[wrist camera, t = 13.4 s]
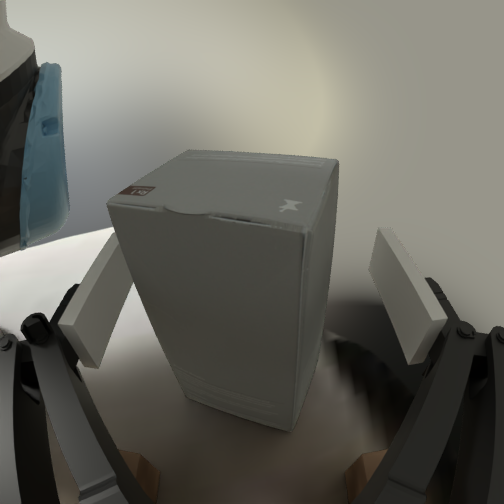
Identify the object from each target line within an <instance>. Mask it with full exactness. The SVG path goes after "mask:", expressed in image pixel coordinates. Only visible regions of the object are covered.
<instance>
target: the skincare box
mask: <svg viewBox="0 0 504 504" xmlns="http://www.w3.org/2000/svg"><path fill="white" fill-rule="evenodd" d="M338 179H339V161H338V160H337V159H327V158H317V157H307V156H295V155H281V154H265V153H249V152H233V151H209V150H208V151H207V150H187V151H185V152H183V153H181V154H180V155H178V156H177V157H175V158H173V159H171V160H170V161H168V162H167V163H165V164H163V165H162V166H160V167H159V168H157V169H155V170H154V171H152V172H150V173H149V174H147V175H146V176H144V177H142V178H141V179H140V180H138V181H136V182H135V183H134V184H132V185H130V186H129V187H127V188H126V189H124V190H123V191H121V192H120V193H118V194H117V195H115V196H114V197H112V198H111V199H109V200H108V202H107V203H106V204H107V208H108V211H109V214H110V218H111V221H112V224H113V227H114V230H115V233H116V236H117V239H118V241H119V244H120V247H121V250H122V253H123V255H124V258H125V261H126V263H127V266H128V269H129V271H130V274H131V276H132V279H133V281H134V284H135V287H136V289H137V291H138V294H139V296H140V298H141V301H142V303H143V306H144V308H145V311H146V313H147V315H148V318H149V320H150V322H151V325H152V327H153V329H154V331H155V334H156V336H157V338H158V340H159V342H160V345H161V347H162V349H163V351H164V353H165V355H166V357H167V359H168V361H169V364H170V366H171V368H172V370H173V372H174V374H175V376H176V378H177V380H178V382H179V383H180V385H181V387H182V389H183V391H184V393H185V396H186V397H187V398H189V399H192V400H195V401H197V402H200V403H202V404H205V405H207V406H210V407H213V408H215V409H218V410H221V411H224V412H227V413H229V414H232V415H235V416H238V417H241V418H244V419H247V420H250V421H253V422H257V423H260V424H263V425H267V426H270V427H273V428H277V429H281V430H285V431H289V432H292V431H293V429H294V427H295V424H296V422H297V419H298V416H299V414H300V411H301V408H302V405H303V403H304V400H305V397H306V394H307V391H308V388H309V385H310V383H311V380H312V377H313V374H314V371H315V368H316V364H317V361H318V357H319V352H320V346H321V340H322V333H323V327H324V320H325V313H326V305H327V298H328V290H329V283H330V274H331V265H332V257H333V247H334V246H333V245H334V234H335V224H336V212H337V199H338Z"/></svg>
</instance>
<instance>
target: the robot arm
mask: <svg viewBox="0 0 504 504" xmlns="http://www.w3.org/2000/svg"><path fill="white" fill-rule="evenodd" d="M61 82H62V81H61V67H60V65H59V64H56V63H54V64H49V63H48V62H46V63H44V64H42V65H41V67H38V65H37V62H36V55H35V46H34V42H33V40H32V39H31V38H29V37H27V36H25V35H23V34H21V33H19V32H17V31H15V30H13V29H11V28H10V27H9V25H8V22H7V15H6V0H0V257H2V256H5V255H8V254H11V253H13V252H16V251H19V250H21V251H22V250H24V249H26V248H27V247H28V245H30V244H32V243H34V242H37V241H39V240H41V239H43V238H46V237H48V236H50V235H52V234H55V233H56V232H58V231H59V230H60V229H61V227H63V225H64V224H65V222H66V220H67V218H68V215H69V210H70V205H69V193H68V183H67V174H66V162H65V150H64V136H63V114H62V83H61ZM369 272H370V274H371V276H372V278H373V281H374V283H375V285H376V287H377V290H378V292H379V294H380V296H381V299H382V300H383V303H384V306H385V308H386V310H387V312H388V315H389V317H390V320H391V322H392V324H393V327H394V329H395V332H396V334H397V337H398V339H399V342H400V344H401V346H402V349H403V352H404V355H405V357H406V360H407V363H408V365H410V364H417V363H422V362H424V360H425V358H426V357H427V355H428V354H429V356H430V359H431V362H430V363H429V365H428V366H427V368H426V369H425V371H424V373H423V374H422V375H423V376H424V377H423V380H422V382H421V384H420V386H419V389H418V391H417V393H416V395H415V398H414V400H413V402H412V404H411V406H410V408H409V410H408V412H407V414H406V416H405V418H404V420H403V422H402V424H401V426H400V428H399V430H398V432H397V434H396V436H395V438H394V439H393V441H392V443H391V445H390V447H389V448H388V450H387V452H386V454H385V455H384V457H383V459H382V460H381V462H380V464H379V465H378V467H377V469H376V470H375V472H374V473H373V475H372V476H371V478H370V480H369V481H368V483H367V484H366V486H365V487H364V489H363V490H362V491H361V493H360V494H359V495H358V496H357V497H356V498H355V499H354V500H353V502H352V503H351V504H425V502H426V497H427V496H426V494H425V490H426V488H427V485H428V483H429V481H430V479H431V477H432V475H433V473H434V471H435V469H436V467H437V464H438V462H439V460H440V458H441V455H442V453H443V451H444V448H445V446H446V443H447V441H448V438H449V435H450V433H451V430H452V427H453V425H454V422H455V419H456V416H457V413H458V410H459V407H460V404H461V401H462V397H463V394H464V408H463V420H462V421H463V422H462V431H461V439H460V448H459V454H458V461H457V467H456V472H455V478H454V483H453V487H452V492H451V496H450V500H449V504H504V328H503V327H501V326H496V327H493V329H492V330H491V332H490V333H489V334H484V333H478V332H476V331H475V329H474V328H473V326H472V325H470V324H469V323H467V322H465V321H460V319H459V318H458V316H457V314H456V312H455V311H454V309H453V307H452V306H451V304H450V302H449V301H448V300H447V297H446V296H445V294H444V293H443V291H442V290H441V288H440V286H439V285H438V283H436V282H435V281H434V280H433V279H432V278H424V277H423V275H422V274H421V272H420V270H419V269H418V267H417V266H416V264H415V263H414V261H413V260H412V258H411V256H410V255H409V253H408V252H407V250H406V249H405V247H404V246H403V244H402V243H401V242H400V240H399V239H398V237H397V236H396V234H395V233H394V231H393V230H392V229H391V228H378V230H377V235H376V240H375V244H374V249H373V253H372V258H371V262H370V266H369ZM133 282H134V281H133V279H132V276H131V274H130V271H129V269H128V266H127V263H126V261H125V258H124V255H123V253H122V250H121V247H120V244H119V241H118V239H117V236H116V233H112V235H111V236H110V238H109V239H108V241H107V242H106V244H105V245H104V247H103V248H102V250H101V251H100V253H99V255H98V256H97V258H96V259H95V261H94V262H93V264H92V266H91V267H90V269H89V270H88V272H87V274H86V275H85V277H84V278H83V280H82V282H81V283H80V284H75V285H73V286H72V287H71V288H70V289H69V290H68V291H67V293H66V294H65V296H64V298H63V300H62V301H61V303H60V304H59V305H60V306H58V308H57V310H56V311H55V313H54V315H53V317H52V318H51V320H50V322H48V320H47V318H46V317H45V315H44V314H42V313H34V314H31V315H30V316H28V317H27V318H26V319H25V320H24V321H23V323H22V325H21V332H22V333H23V335H24V336H25V338H26V339H27V340H23V341H18V339H17V338H16V336H15V335H13V334H6V335H3V333H2V331H1V330H0V504H60V501H59V497H58V493H57V488H56V483H55V478H54V473H53V468H52V462H51V455H50V448H49V441H48V432H47V423H46V410H45V406H46V409H47V412H48V415H49V418H50V421H51V424H52V427H53V429H54V432H55V435H56V438H57V440H58V443H59V445H60V448H61V450H62V453H63V455H64V457H65V460H66V462H67V464H68V467H69V469H70V471H71V473H72V475H73V477H74V479H75V482H76V484H77V486H78V488H79V490H80V495H79V497H78V498H79V503H80V504H155V503H154V502H153V501H152V500H151V499H150V498H149V497H148V495H147V494H146V493H145V492H144V490H143V489H142V487H141V486H140V484H139V483H138V481H137V480H136V478H135V477H134V475H133V474H132V472H131V470H130V469H129V467H128V466H127V464H126V462H125V461H124V459H123V457H122V456H121V454H120V452H119V450H118V449H117V447H116V445H115V443H114V442H113V440H112V438H111V436H110V434H109V432H108V431H107V429H106V427H105V425H104V423H103V421H102V419H101V417H100V415H99V413H98V411H97V409H96V407H95V405H94V403H93V400H92V398H91V396H90V394H89V392H88V389H87V387H86V385H85V382H84V380H83V378H82V375H81V373H80V371H79V369H78V367H77V366H76V365H77V362H78V360H79V359H80V361H81V362H82V364H83V365H84V367H90V368H97V369H99V366H100V364H101V361H102V358H103V355H104V353H105V350H106V347H107V345H108V342H109V340H110V337H111V334H112V332H113V329H114V327H115V324H116V322H117V319H118V317H119V314H120V312H121V310H122V307H123V305H124V302H125V300H126V298H127V295H128V293H129V291H130V288H131V286H132V284H133Z"/></svg>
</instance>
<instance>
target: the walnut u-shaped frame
mask: <svg viewBox="0 0 504 504" xmlns="http://www.w3.org/2000/svg"><path fill="white" fill-rule="evenodd" d="M387 450H388V449H385V450H380V451H375V452H370V453H365V454H362V455H361V456H360V457H359V458H358V459H357V460H356V461H355V462H354V463H353V464H352V465H351V466H350V467H349V468H348V469H347V470H346V471H345V478H346V486H347V494H348V503H349V504H351V503H352V502H353V500H354V499H355V498H356V497H357V496H358V495H359V494H360V493H361V491H362V490H363V489H364V487H365V486H366V484H367V483H368V481H369V480H370V478H371V476H372V475H373V473H374V472H375V470H376V469H377V467H378V465H379V464H380V462H381V460H382V459H383V457H384V455H385V454H386V452H387ZM119 452H120V454H121V456H122V457H123V459H124V461H125V462H126V464H127V466H128V467H129V469H130V470H131V472H132V474H133V475H134V477H135V478H136V480H137V481H138V483H139V484H140V486H141V487H142V489H143V490H144V492H145V493H146V494H147V495H148V497H149V498H150V499H151V500H152V501H153V502H154V503H155V504H156V501H157V493H158V485H159V478H160V472H159V471H158V470H157V469H156V468H155V467H154V466H153V465H152V464H150V463H149V462H148V461H147V460H146V459H145V458H144V457H143V456H142V455H141V454H139V453H133V452H128V451H123V450H119Z"/></svg>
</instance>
